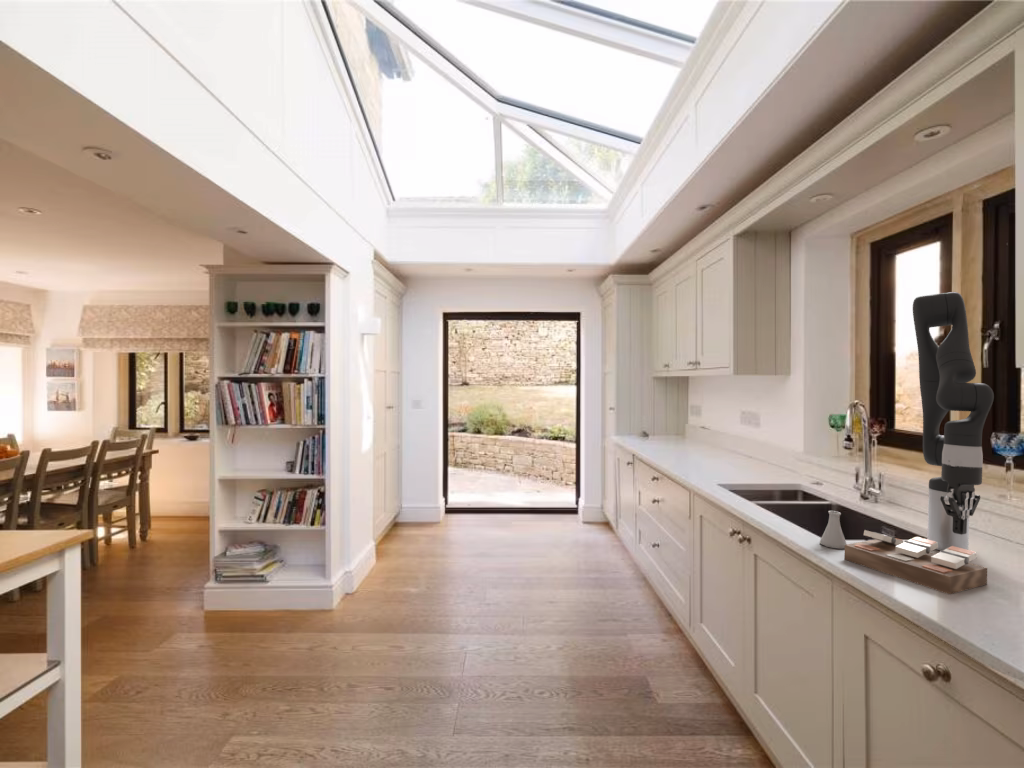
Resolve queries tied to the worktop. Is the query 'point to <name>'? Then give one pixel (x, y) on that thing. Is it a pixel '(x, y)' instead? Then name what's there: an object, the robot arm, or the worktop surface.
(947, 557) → the rocker
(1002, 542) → the worktop surface
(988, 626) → the worktop surface
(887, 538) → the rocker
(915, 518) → the worktop surface
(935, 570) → the switch unit
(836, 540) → the flask
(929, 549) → the rocker
